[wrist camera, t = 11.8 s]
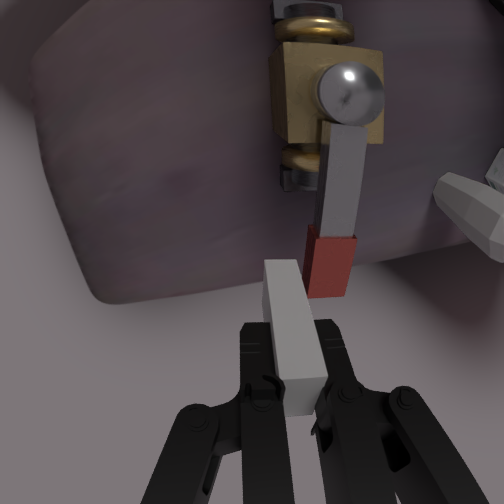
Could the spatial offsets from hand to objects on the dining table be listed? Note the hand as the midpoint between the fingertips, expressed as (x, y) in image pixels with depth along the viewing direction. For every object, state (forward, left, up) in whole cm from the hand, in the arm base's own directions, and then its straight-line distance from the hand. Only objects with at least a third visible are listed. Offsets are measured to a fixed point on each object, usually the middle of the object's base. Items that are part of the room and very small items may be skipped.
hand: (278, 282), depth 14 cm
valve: (-9, +5, -16) cm, 19 cm away
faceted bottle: (+1, +23, -16) cm, 28 cm away
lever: (-3, +5, -7) cm, 9 cm away
